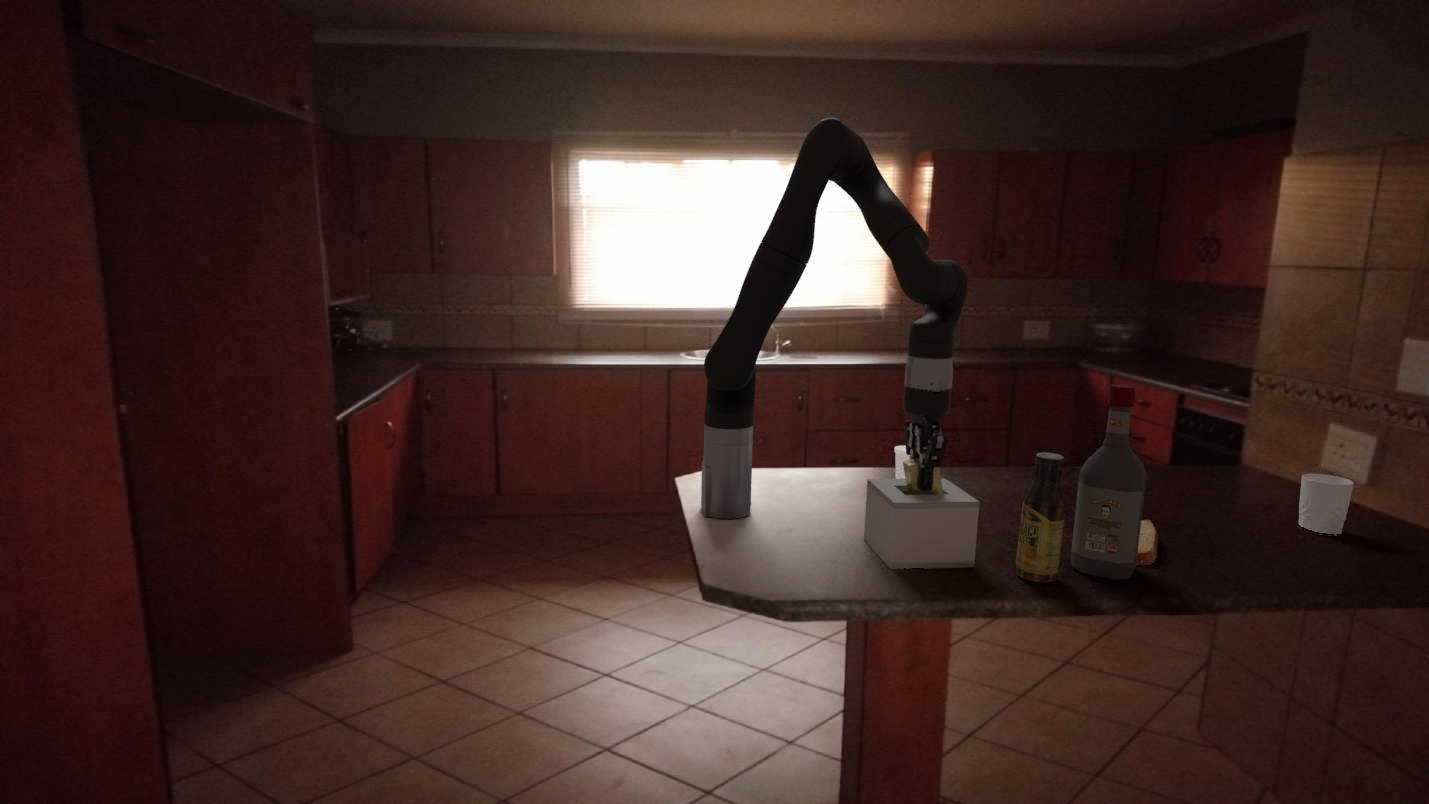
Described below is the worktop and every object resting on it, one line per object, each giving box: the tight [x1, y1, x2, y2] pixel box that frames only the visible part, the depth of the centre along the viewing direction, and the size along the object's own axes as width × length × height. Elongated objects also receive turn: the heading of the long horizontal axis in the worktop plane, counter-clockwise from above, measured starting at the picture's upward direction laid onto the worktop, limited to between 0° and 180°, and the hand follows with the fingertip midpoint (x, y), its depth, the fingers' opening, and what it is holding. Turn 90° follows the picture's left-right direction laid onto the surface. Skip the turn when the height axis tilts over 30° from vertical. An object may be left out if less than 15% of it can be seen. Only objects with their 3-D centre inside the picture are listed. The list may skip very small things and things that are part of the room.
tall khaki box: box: [903, 457, 944, 495], centre depth 138 cm, size 5×3×7 cm, turn 97°
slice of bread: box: [1136, 519, 1159, 566], centre depth 147 cm, size 18×18×4 cm
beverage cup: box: [893, 444, 910, 479], centre depth 178 cm, size 6×6×14 cm
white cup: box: [1298, 473, 1354, 536], centre depth 157 cm, size 8×8×10 cm
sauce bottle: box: [1015, 451, 1067, 584], centre depth 129 cm, size 7×6×20 cm
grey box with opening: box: [863, 477, 980, 570], centre depth 139 cm, size 14×14×11 cm
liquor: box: [1069, 383, 1148, 581], centre depth 133 cm, size 9×9×30 cm
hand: (921, 486), depth 138 cm, fingers closed on tall khaki box, 3 cm apart
